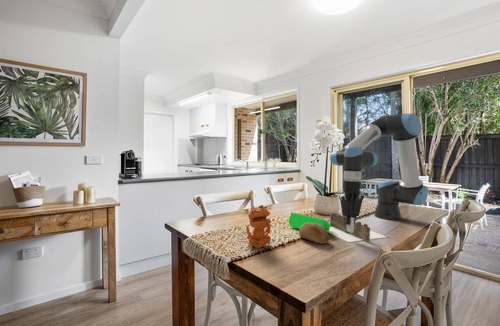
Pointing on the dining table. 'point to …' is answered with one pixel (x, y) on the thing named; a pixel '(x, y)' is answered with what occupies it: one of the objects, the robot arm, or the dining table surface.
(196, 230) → the dining table surface
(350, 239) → the card
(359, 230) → the fence panel
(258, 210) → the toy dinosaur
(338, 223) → the fence fixed
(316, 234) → the bread roll
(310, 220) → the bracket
